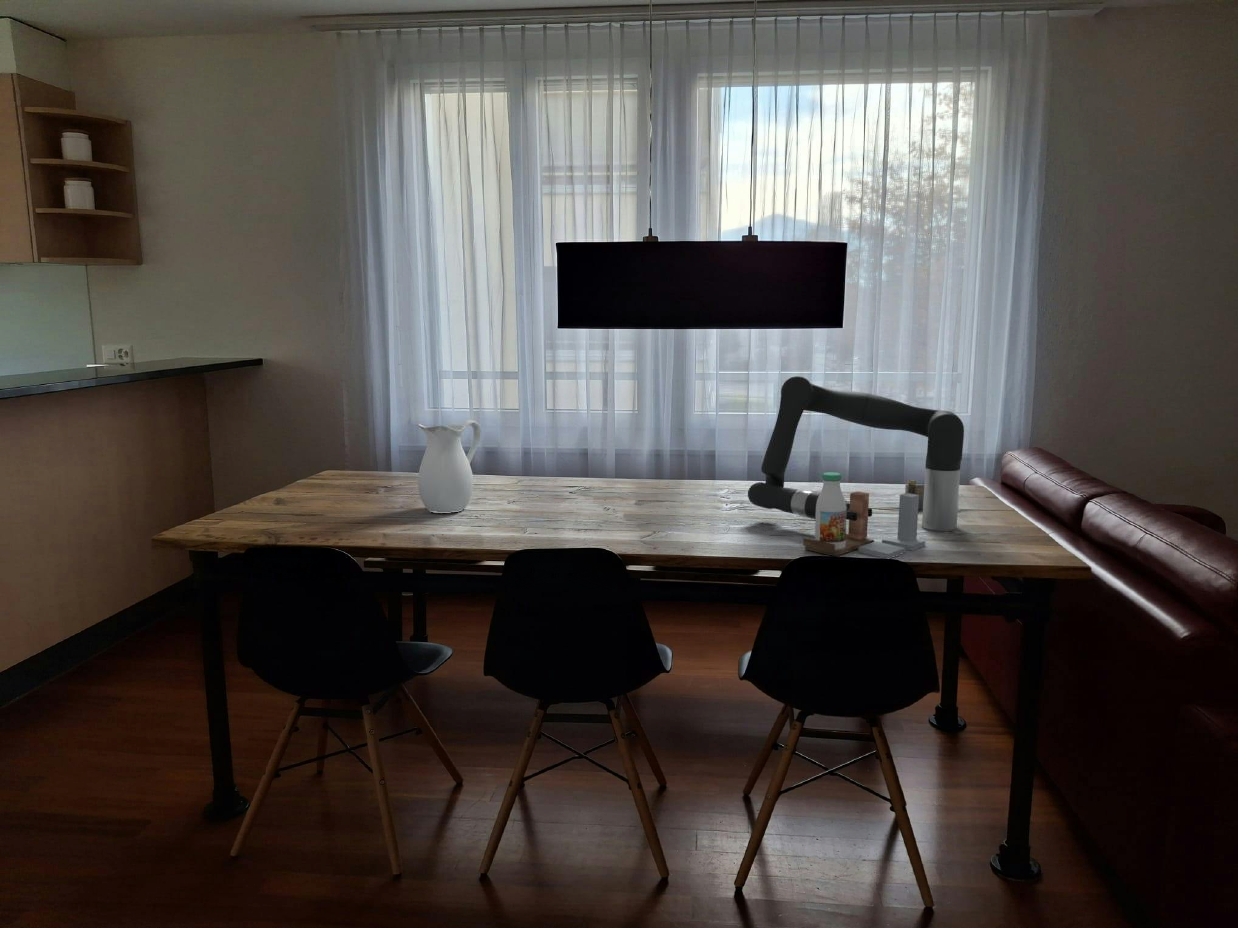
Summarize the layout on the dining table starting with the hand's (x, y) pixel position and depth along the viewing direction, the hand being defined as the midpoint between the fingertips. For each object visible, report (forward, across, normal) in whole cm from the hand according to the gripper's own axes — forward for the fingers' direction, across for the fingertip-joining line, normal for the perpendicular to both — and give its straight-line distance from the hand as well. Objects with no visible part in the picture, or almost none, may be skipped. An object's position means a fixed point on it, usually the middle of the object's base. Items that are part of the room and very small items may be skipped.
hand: (864, 514), depth 222 cm
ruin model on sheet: (-11, +53, +9) cm, 55 cm away
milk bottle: (-2, -12, +8) cm, 14 cm away
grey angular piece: (+8, +2, +8) cm, 11 cm away
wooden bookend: (-2, -7, +8) cm, 11 cm away
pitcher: (-110, -58, +8) cm, 125 cm away
